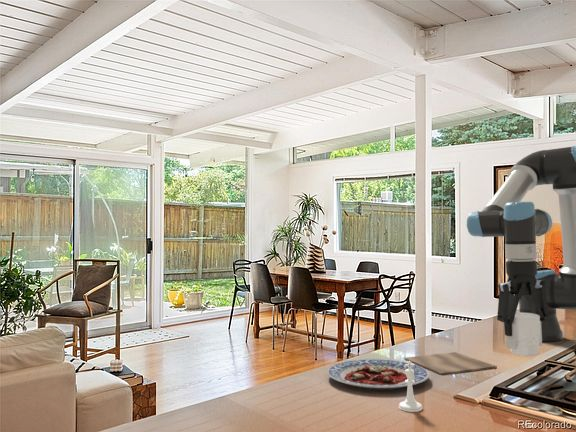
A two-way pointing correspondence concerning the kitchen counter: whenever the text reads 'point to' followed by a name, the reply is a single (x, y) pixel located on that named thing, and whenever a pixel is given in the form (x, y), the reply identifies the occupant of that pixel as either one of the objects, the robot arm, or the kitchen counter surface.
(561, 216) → the robot arm
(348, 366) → the ceramic plate
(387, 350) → the kitchen counter surface
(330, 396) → the kitchen counter surface
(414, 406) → the chess piece
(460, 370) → the plate
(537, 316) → the white cup
